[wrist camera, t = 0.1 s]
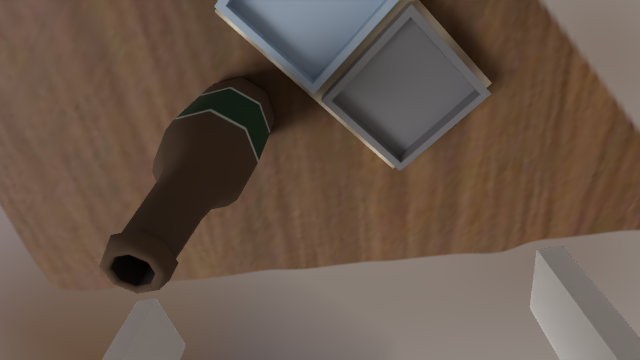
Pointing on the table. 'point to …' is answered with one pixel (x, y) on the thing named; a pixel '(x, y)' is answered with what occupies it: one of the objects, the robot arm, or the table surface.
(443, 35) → the board
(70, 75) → the table surface
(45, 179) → the table surface
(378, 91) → the tray
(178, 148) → the beer bottle
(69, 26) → the table surface
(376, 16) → the light blue shallow tray
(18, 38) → the table surface
